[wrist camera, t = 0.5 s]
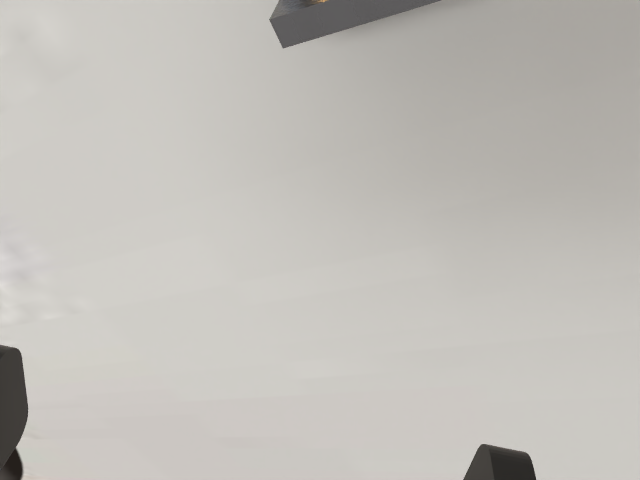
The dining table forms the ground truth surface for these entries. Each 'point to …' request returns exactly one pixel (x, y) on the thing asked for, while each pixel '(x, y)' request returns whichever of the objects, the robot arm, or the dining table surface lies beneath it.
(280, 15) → the rack
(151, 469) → the dining table surface
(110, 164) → the dining table surface
